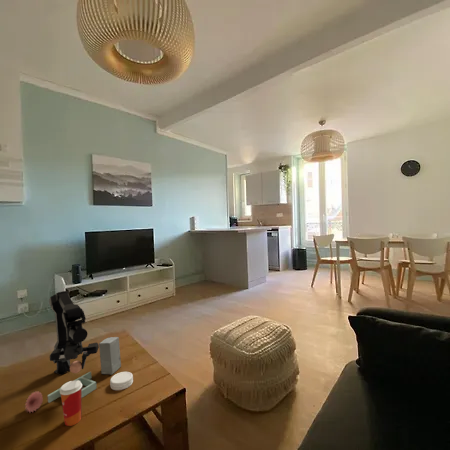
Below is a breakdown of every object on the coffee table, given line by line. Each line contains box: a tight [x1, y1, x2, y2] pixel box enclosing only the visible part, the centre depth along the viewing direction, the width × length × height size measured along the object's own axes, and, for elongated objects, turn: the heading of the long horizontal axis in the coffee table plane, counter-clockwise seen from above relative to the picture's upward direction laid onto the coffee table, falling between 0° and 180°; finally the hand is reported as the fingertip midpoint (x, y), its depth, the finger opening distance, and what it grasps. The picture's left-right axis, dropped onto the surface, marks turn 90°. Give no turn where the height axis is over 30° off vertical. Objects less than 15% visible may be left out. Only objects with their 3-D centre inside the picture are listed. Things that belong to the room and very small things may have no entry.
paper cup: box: [60, 379, 83, 427], centre depth 106 cm, size 8×8×14 cm
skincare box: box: [98, 336, 122, 376], centre depth 141 cm, size 8×7×16 cm
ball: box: [70, 360, 83, 374], centre depth 124 cm, size 5×5×5 cm
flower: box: [24, 390, 44, 414], centre depth 114 cm, size 8×8×6 cm
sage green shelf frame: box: [47, 371, 97, 403], centre depth 124 cm, size 11×20×3 cm, turn 151°
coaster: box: [109, 371, 134, 391], centre depth 129 cm, size 10×10×4 cm
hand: (76, 370), depth 124 cm, fingers closed on ball, 5 cm apart
